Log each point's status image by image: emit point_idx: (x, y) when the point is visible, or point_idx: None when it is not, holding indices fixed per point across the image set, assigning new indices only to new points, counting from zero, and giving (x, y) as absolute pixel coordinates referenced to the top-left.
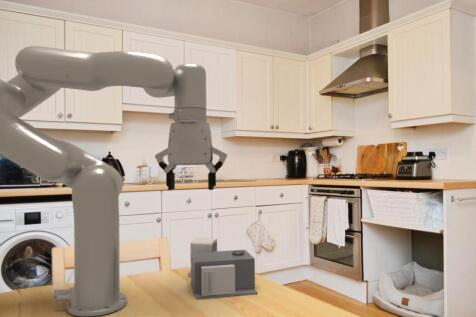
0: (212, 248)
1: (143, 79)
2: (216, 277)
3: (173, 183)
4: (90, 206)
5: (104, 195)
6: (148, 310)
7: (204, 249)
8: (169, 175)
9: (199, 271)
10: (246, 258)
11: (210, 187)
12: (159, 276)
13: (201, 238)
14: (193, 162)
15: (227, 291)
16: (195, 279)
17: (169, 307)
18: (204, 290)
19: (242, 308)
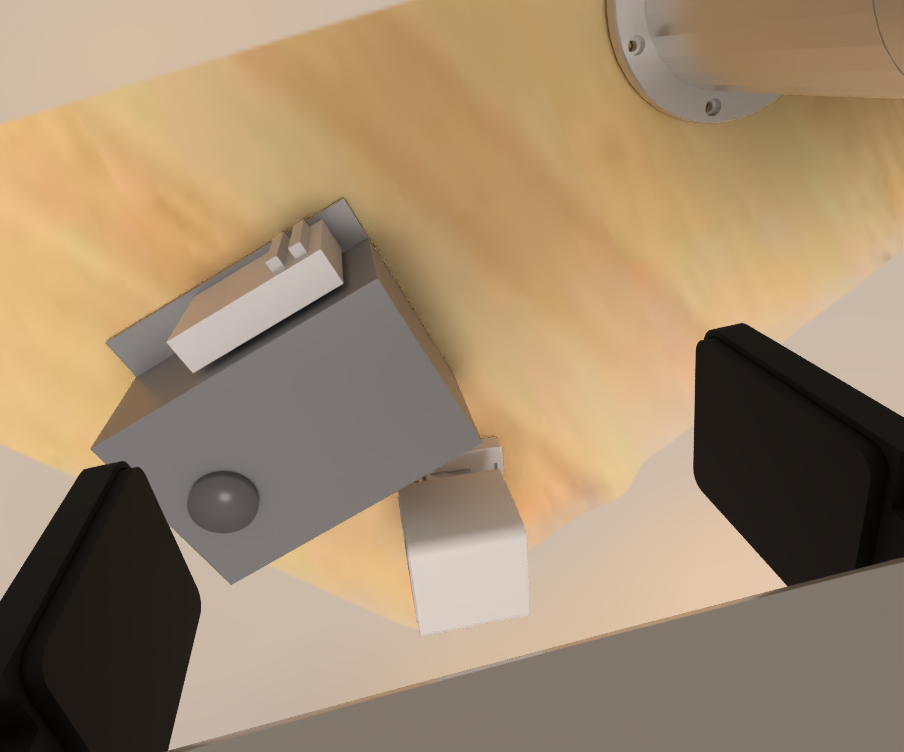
0: (405, 543)
1: None
2: (258, 275)
3: (738, 477)
4: None
5: None
6: (484, 5)
7: (441, 521)
8: (872, 422)
9: (353, 277)
10: (136, 437)
11: (87, 481)
12: (617, 404)
13: (499, 610)
14: (315, 746)
15: (222, 281)
16: (369, 256)
17: (411, 68)
18: (312, 229)
19: (86, 153)
